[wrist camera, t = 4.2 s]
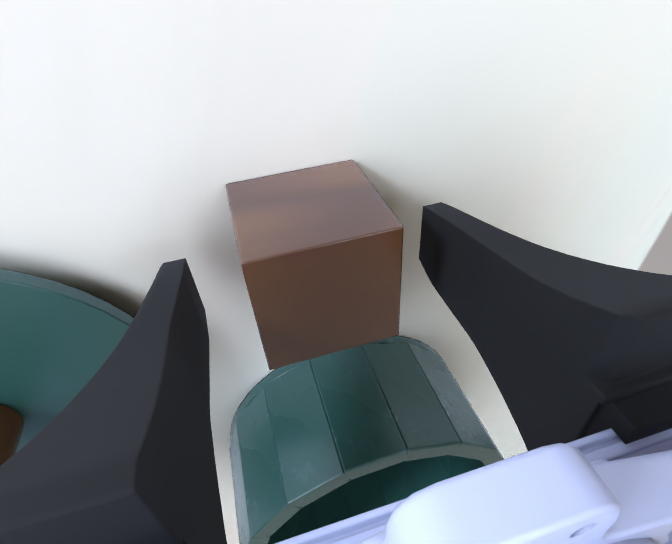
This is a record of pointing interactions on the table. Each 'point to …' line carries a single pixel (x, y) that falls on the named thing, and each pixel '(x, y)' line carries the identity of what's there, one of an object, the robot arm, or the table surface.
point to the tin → (349, 437)
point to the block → (318, 260)
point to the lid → (48, 351)
